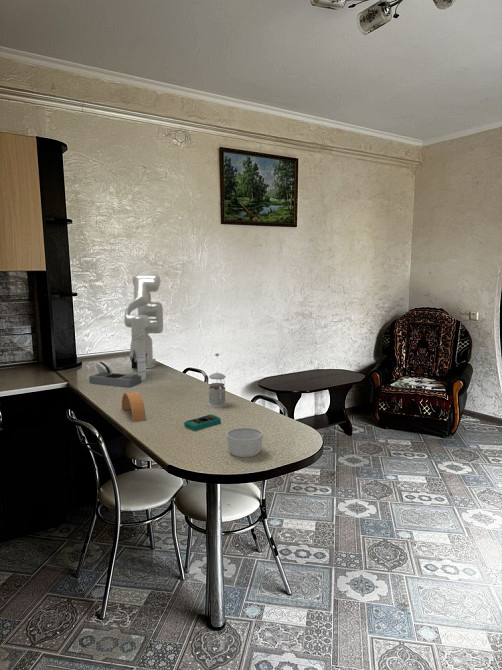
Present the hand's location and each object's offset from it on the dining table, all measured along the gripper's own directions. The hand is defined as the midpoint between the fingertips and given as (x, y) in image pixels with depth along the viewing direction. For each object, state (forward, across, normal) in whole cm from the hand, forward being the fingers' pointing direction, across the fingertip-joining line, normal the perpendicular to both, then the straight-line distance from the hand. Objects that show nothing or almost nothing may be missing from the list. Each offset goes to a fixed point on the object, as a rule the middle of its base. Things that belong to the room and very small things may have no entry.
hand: (139, 366), depth 272 cm
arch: (+8, +57, +33) cm, 66 cm away
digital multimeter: (+9, +59, +68) cm, 90 cm away
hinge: (+8, 0, -23) cm, 25 cm away
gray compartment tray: (+7, +12, -8) cm, 16 cm away
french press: (+8, +29, +62) cm, 69 cm away
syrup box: (+8, 0, 0) cm, 8 cm away
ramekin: (+8, +80, +94) cm, 124 cm away
